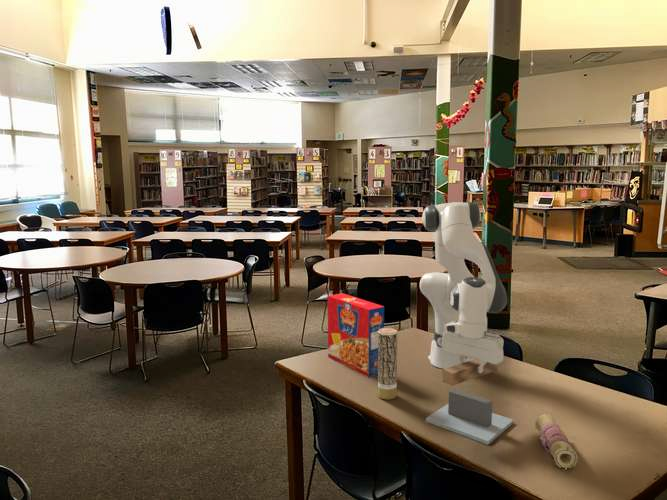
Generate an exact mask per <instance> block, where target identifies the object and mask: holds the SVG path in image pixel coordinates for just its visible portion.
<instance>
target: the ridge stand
mask: <svg viewBox="0 0 667 500" xmlns="http://www.w3.org/2000/svg"><path fill="white" fill-rule="evenodd" d="M493 402H494V401H493V400H491V399H487V398H485V397H482V396H480V395H475V394H472V393H468V392H465V391H462V390H458V389H456V388H451V389H450V390H449V391H448V402H447V404H445V405H444V406H442V407H441V408H439V409H438V410H436V411H435V412H433V413H431V414H430V415H428V416H427V417H426V418H425V422H426V423H428V424H430V425H431V424H432V425H434V426H436V427H439V428H442V429H445V430H447V431H450V432H453V433H454V434H458V435H461V436H464V437H466V438H469V439H471V440H474V441H477V442H479V443H482V444H484V445H487V446H488V445H489V444H491V443H492V442H493V441H494V440H496V439H497V438H498V437H499V436H500V435H501V434H503V432H504V433H505V431H506V430H507V429H508V428H510V426H512V425H513V424H514V419H512V418H509V417H506V416H504V415H500V414H497V413H494V412H493Z"/></svg>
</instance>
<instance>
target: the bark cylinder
mask: <svg viewBox="0 0 667 500" xmlns="http://www.w3.org/2000/svg"><path fill="white" fill-rule="evenodd" d="M397 376H398V330H397V329H395V328H391V327H384V328H382V329H379V330H378V375H377V395H378V398H380V399H382V400H389V401H390V400H394V399H395V398H396V397H397V385H398V384H397V383H398V382H397V380H398V377H397Z"/></svg>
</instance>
